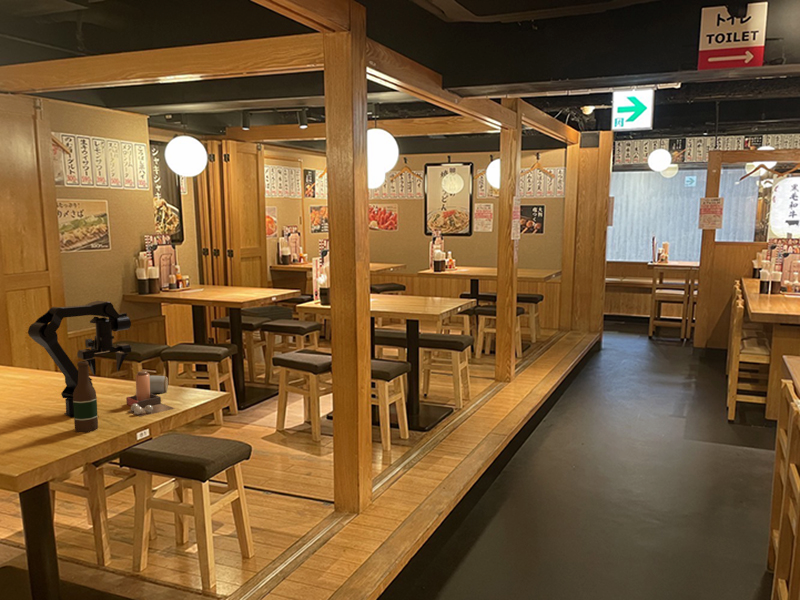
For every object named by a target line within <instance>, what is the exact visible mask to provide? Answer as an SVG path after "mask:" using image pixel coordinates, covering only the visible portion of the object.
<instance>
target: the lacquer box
mask: <svg viewBox="0 0 800 600" xmlns="http://www.w3.org/2000/svg"><path fill="white" fill-rule="evenodd" d="M161 398H162V397H161V396H159V395H155V394H151V393H150V399H147V400H142V401H137V398H136V395H132V396H127V397H125V399H126V405H127V406H129V407H131V406H132V404H138V405H139V407H142V408H144V407H146V406H147V405H151V406H153V405H157V404H161V403H162V400H161Z"/></svg>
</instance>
